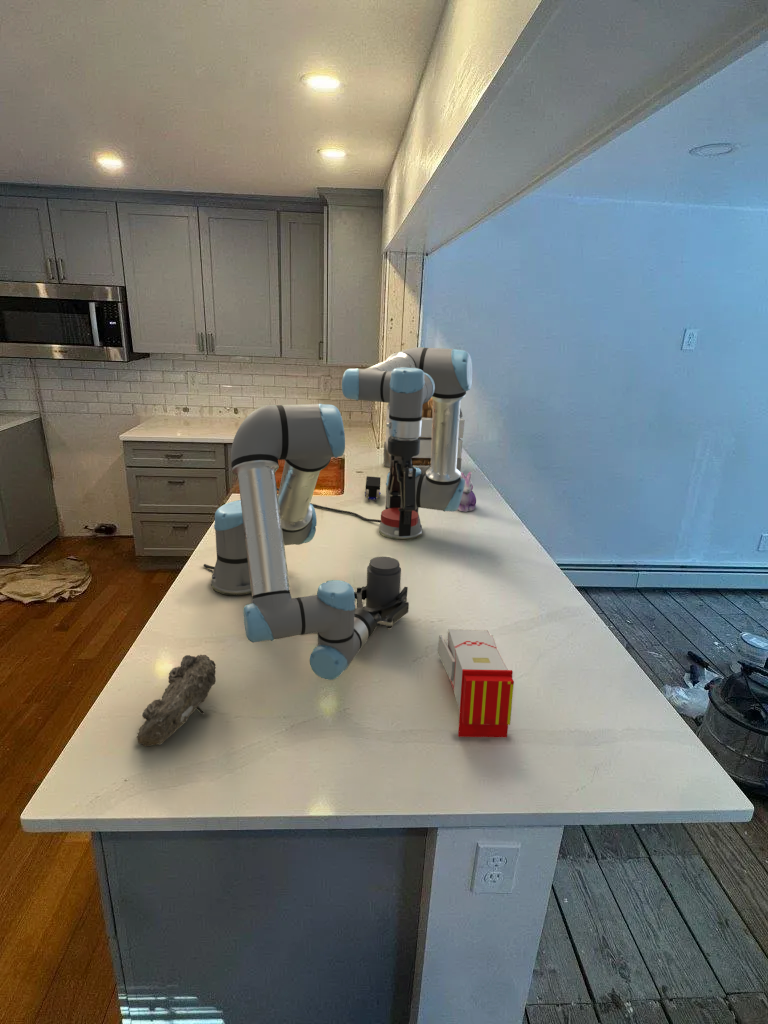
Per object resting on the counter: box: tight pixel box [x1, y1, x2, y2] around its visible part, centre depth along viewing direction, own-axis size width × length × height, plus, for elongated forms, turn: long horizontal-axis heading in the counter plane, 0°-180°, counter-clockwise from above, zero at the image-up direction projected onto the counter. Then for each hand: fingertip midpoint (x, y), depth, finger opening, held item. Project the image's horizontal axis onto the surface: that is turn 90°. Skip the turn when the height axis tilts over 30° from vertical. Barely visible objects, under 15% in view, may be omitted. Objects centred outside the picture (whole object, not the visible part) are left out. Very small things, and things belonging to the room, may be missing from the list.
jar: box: [365, 556, 402, 626], centre depth 143 cm, size 8×8×15 cm
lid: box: [380, 508, 419, 528], centre depth 137 cm, size 9×9×2 cm
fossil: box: [136, 654, 217, 747], centre depth 108 cm, size 22×10×15 cm
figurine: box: [457, 471, 477, 513], centre depth 226 cm, size 9×10×15 cm
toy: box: [437, 628, 515, 738], centre depth 117 cm, size 12×13×30 cm
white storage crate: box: [383, 398, 465, 473], centre depth 268 cm, size 34×33×41 cm
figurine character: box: [364, 475, 381, 503], centre depth 235 cm, size 7×8×15 cm
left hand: (389, 587), depth 148 cm, fingers closed on jar, 8 cm apart
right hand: (399, 527), depth 138 cm, fingers closed on lid, 9 cm apart
